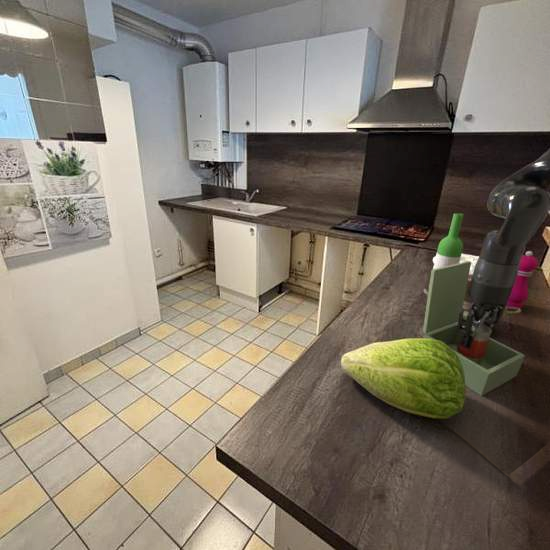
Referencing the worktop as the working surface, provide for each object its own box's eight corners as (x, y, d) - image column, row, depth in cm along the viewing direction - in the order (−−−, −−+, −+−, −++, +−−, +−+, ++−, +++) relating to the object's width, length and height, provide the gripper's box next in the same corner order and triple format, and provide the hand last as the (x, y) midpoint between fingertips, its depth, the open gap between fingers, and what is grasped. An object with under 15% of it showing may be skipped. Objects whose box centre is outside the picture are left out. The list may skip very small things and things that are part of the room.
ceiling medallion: (452, 252, 156) (454, 246, 155) (513, 268, 134) (515, 262, 133) (420, 261, 143) (421, 255, 142) (481, 281, 121) (483, 274, 120)
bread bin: (515, 378, 69) (525, 355, 66) (480, 398, 63) (489, 373, 60) (452, 342, 82) (458, 321, 79) (418, 356, 76) (423, 334, 74)
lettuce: (338, 415, 65) (362, 380, 77) (468, 438, 50) (471, 391, 63) (325, 352, 64) (351, 328, 76) (454, 357, 49) (460, 326, 62)
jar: (464, 348, 75) (473, 318, 71) (486, 361, 70) (497, 330, 67) (450, 355, 73) (458, 324, 69) (472, 368, 68) (482, 336, 65)
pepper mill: (526, 306, 101) (548, 252, 93) (518, 312, 97) (540, 256, 90) (502, 298, 107) (520, 246, 99) (494, 304, 103) (512, 250, 95)
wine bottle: (455, 293, 110) (476, 214, 99) (443, 298, 107) (464, 217, 95) (435, 286, 117) (453, 211, 105) (423, 290, 113) (441, 213, 101)
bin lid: (471, 261, 73) (467, 260, 74) (434, 270, 68) (431, 269, 68) (460, 320, 79) (457, 319, 79) (425, 333, 73) (422, 332, 74)
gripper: (491, 292, 57) (469, 361, 64) (530, 279, 63) (507, 343, 70) (455, 278, 63) (438, 343, 70) (493, 267, 69) (475, 328, 76)
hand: (472, 343), depth 70 cm, fingers closed on jar, 5 cm apart
